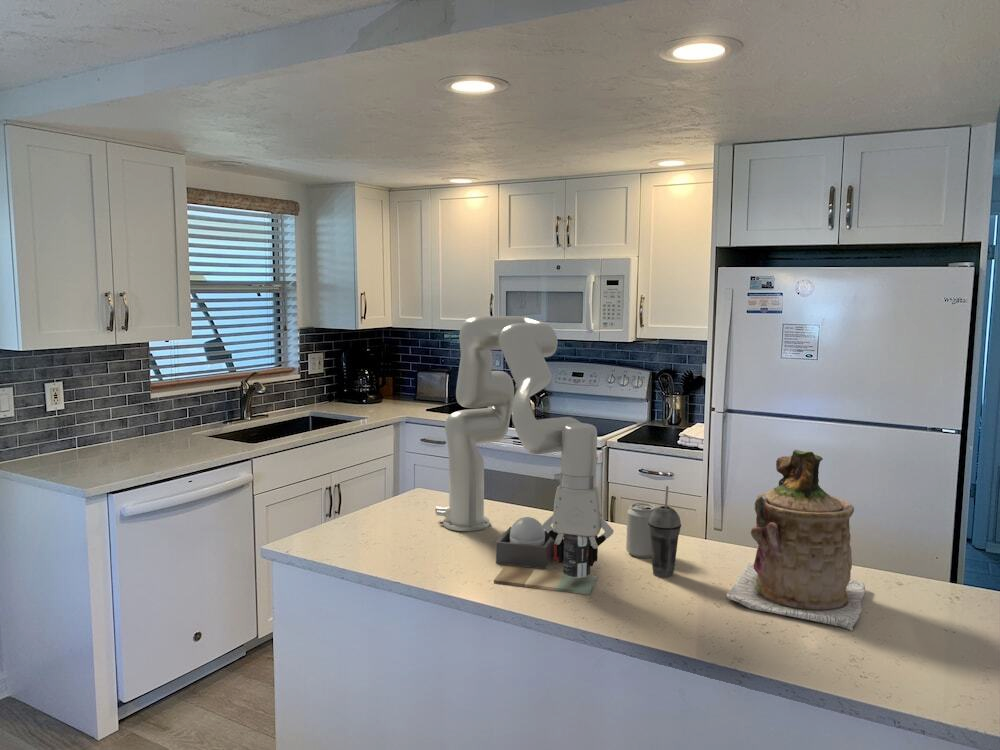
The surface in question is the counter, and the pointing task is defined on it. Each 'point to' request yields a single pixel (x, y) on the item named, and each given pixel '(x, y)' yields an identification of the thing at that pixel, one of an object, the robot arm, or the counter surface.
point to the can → (639, 529)
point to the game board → (544, 580)
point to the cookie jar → (801, 550)
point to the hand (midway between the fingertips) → (576, 561)
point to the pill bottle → (576, 556)
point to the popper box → (525, 552)
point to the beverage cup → (664, 539)
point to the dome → (527, 532)
